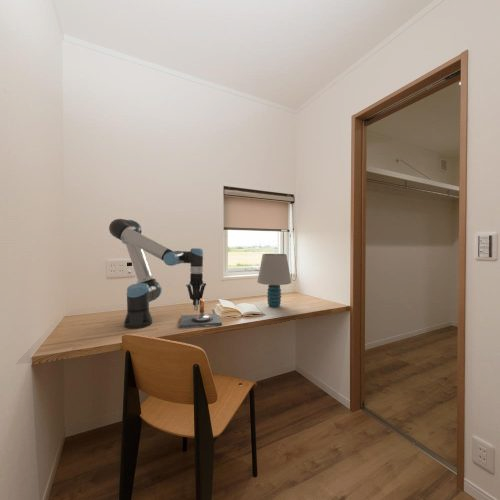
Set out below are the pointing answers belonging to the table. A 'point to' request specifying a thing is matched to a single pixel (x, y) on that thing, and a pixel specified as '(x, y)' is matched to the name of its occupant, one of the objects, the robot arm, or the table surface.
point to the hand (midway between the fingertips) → (195, 310)
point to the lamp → (274, 276)
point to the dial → (202, 313)
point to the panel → (190, 322)
